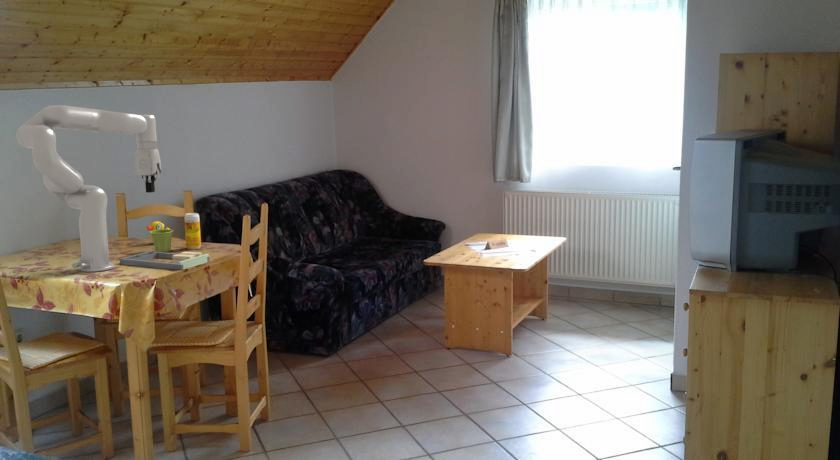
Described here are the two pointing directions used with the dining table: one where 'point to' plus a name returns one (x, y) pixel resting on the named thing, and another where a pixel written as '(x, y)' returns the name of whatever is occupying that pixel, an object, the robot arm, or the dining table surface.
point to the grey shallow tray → (141, 261)
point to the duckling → (156, 227)
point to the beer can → (192, 231)
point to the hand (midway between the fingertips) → (150, 192)
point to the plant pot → (162, 240)
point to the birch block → (184, 256)
